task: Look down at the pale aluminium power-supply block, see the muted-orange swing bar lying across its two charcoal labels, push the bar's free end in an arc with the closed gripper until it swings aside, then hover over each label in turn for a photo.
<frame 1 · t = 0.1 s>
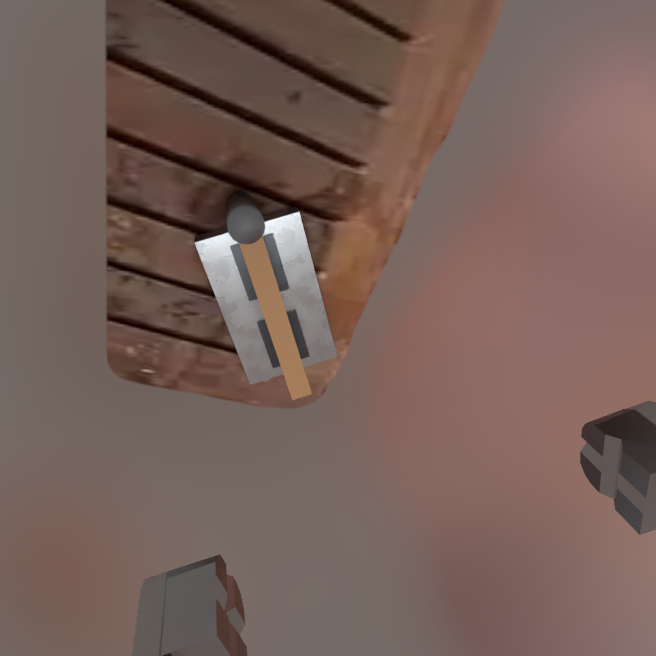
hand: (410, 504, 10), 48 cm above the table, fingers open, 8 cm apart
swing bar: (273, 308, 51), point 8 cm above the table, hinge at 0.0°
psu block: (270, 296, 59), on the table
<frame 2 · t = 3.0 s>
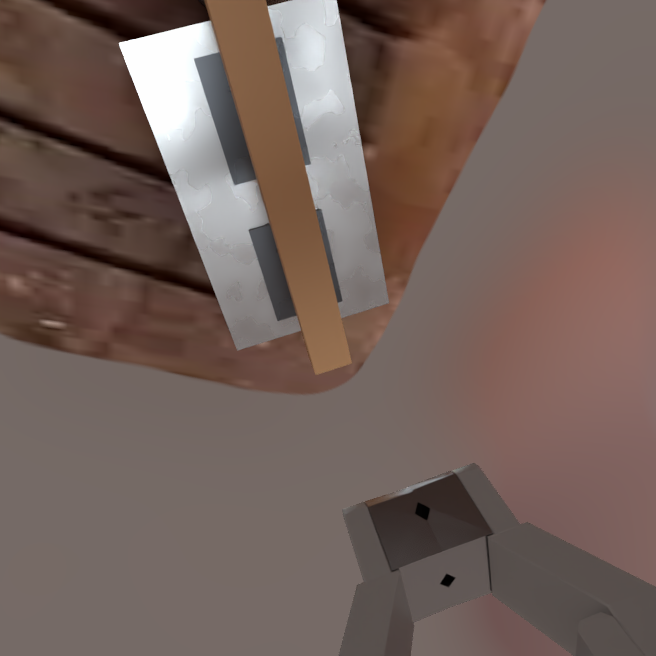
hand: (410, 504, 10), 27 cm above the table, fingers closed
swing bar: (282, 180, 25), point 8 cm above the table, hinge at 0.0°
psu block: (273, 188, 33), on the table
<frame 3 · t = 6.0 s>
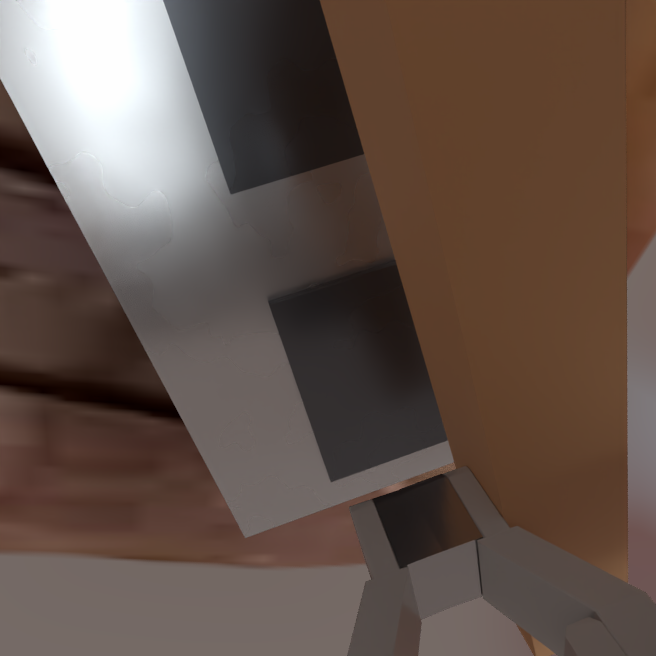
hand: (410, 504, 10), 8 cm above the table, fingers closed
swing bar: (477, 152, 6), point 8 cm above the table, hinge at 5.7°, touching gripper
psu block: (322, 198, 14), on the table
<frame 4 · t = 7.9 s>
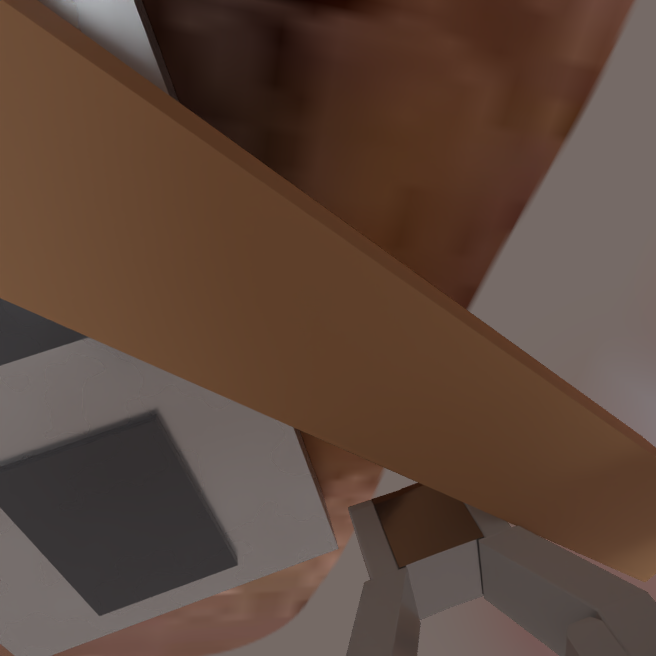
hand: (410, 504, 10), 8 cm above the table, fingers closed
swing bar: (208, 247, 6), point 8 cm above the table, hinge at 39.0°, touching gripper
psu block: (65, 355, 15), on the table
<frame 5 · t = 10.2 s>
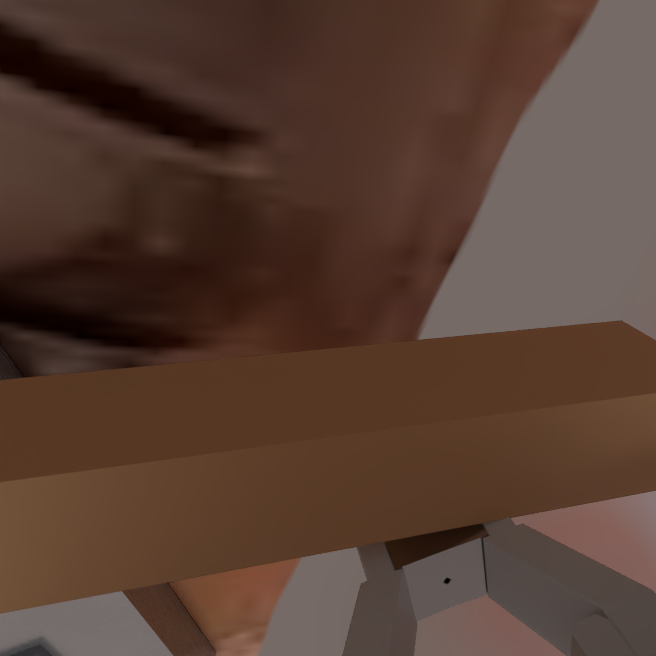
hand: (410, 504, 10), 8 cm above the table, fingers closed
swing bar: (8, 488, 7), point 8 cm above the table, hinge at 75.3°, touching gripper
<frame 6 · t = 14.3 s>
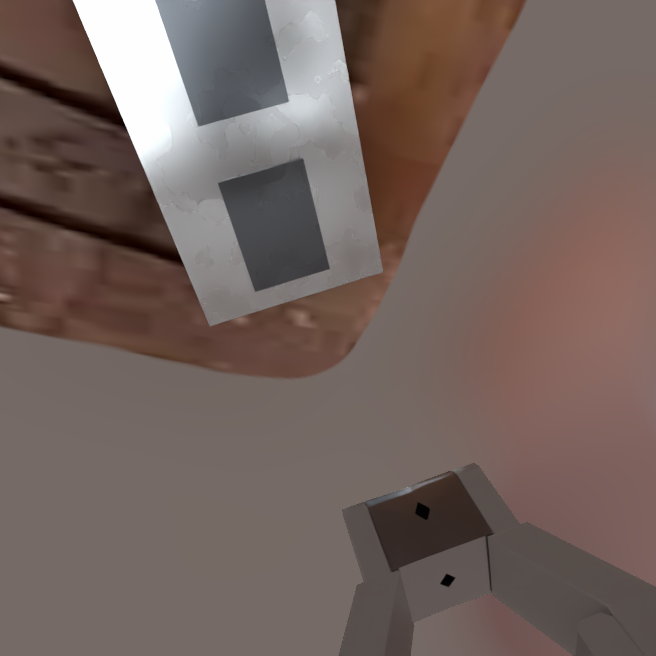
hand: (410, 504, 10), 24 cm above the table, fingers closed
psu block: (248, 136, 28), on the table
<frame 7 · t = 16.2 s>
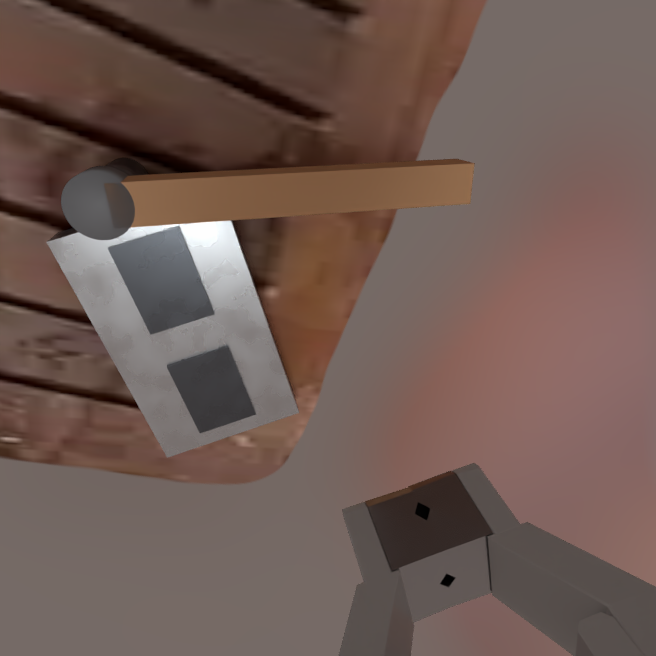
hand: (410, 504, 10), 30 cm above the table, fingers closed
swing bar: (280, 191, 28), point 8 cm above the table, hinge at 76.9°
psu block: (192, 325, 39), on the table
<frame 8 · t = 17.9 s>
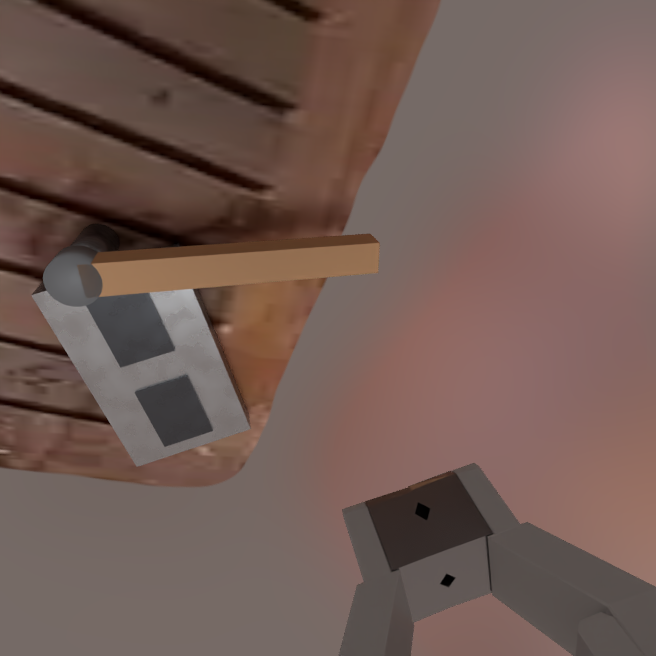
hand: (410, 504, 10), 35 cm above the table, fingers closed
swing bar: (222, 264, 35), point 8 cm above the table, hinge at 76.9°
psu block: (157, 356, 46), on the table
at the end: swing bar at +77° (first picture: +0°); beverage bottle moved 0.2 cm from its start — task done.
